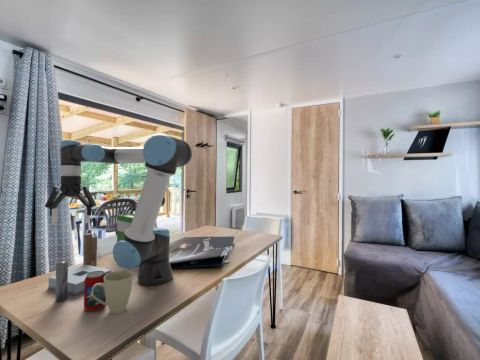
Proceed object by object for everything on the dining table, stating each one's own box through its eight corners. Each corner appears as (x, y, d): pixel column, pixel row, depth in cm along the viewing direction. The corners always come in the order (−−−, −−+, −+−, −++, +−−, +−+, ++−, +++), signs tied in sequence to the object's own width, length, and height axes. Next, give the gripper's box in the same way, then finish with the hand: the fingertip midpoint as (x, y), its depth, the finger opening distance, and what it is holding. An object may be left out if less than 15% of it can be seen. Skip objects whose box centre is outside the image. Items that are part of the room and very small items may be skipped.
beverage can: (89, 314, 81) (90, 279, 81) (79, 308, 85) (80, 274, 84) (109, 306, 87) (110, 272, 87) (99, 300, 90) (100, 268, 90)
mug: (117, 300, 91) (118, 268, 91) (137, 306, 87) (138, 273, 87) (89, 315, 81) (90, 279, 81) (110, 323, 77) (111, 285, 77)
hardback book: (146, 259, 136) (147, 216, 135) (134, 263, 130) (134, 218, 129) (128, 253, 146) (129, 213, 145) (116, 256, 140) (117, 214, 139)
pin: (69, 298, 91) (70, 261, 91) (59, 302, 88) (60, 264, 88) (63, 296, 93) (63, 260, 92) (53, 300, 89) (53, 263, 89)
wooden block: (96, 264, 127) (97, 229, 127) (90, 271, 117) (91, 234, 117) (88, 264, 126) (89, 230, 126) (82, 272, 116) (82, 235, 115)
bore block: (110, 279, 108) (111, 269, 108) (75, 295, 93) (75, 284, 93) (85, 274, 114) (85, 264, 114) (48, 288, 99) (48, 277, 99)
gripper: (104, 175, 113) (104, 221, 113) (47, 175, 111) (47, 222, 111) (96, 175, 105) (96, 224, 105) (34, 175, 103) (34, 225, 103)
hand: (71, 223), depth 108 cm, fingers open, 13 cm apart
